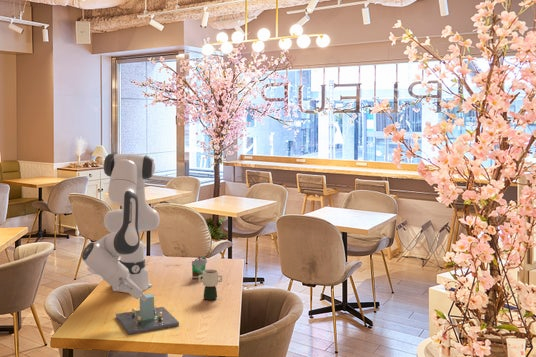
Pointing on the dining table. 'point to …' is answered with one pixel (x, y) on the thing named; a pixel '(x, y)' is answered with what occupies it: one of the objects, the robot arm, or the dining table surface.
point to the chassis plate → (146, 321)
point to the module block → (147, 307)
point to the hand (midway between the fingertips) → (142, 296)
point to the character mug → (210, 283)
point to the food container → (198, 267)
